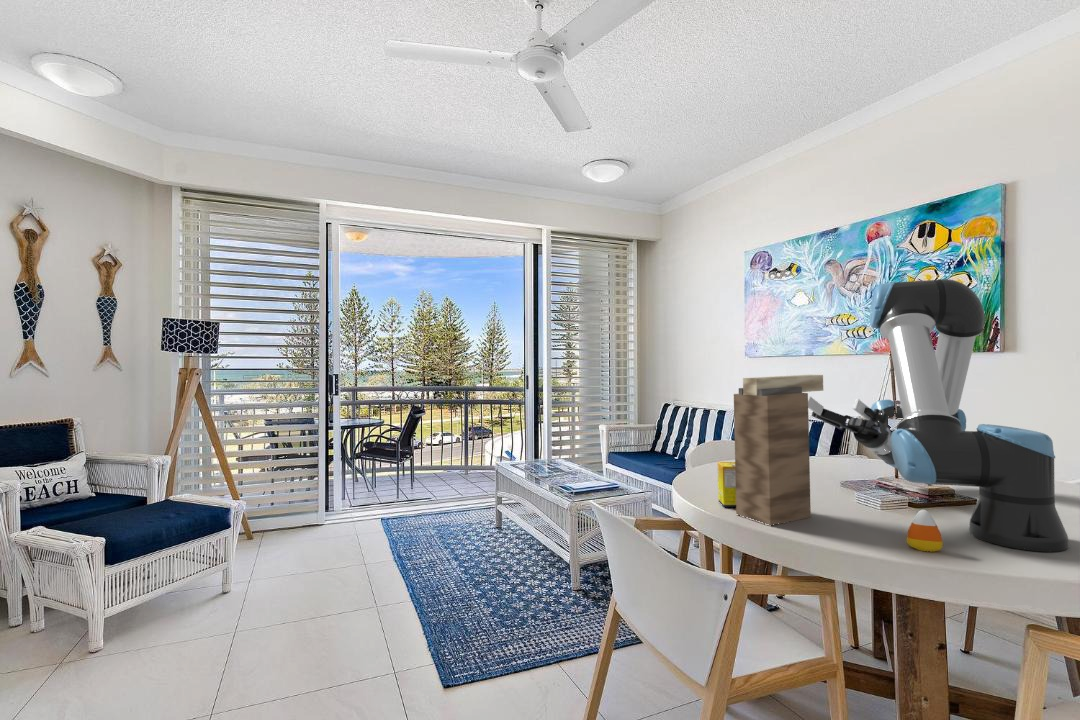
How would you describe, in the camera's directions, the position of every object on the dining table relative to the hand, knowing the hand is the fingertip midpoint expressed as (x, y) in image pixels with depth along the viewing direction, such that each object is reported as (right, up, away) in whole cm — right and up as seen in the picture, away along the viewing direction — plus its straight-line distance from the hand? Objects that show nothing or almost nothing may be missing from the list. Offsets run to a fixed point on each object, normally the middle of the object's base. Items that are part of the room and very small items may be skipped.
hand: (830, 402), depth 138 cm
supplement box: (-26, -27, 0) cm, 38 cm away
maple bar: (-16, +3, -8) cm, 18 cm away
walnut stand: (-20, -27, -10) cm, 35 cm away
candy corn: (0, -27, -34) cm, 43 cm away
